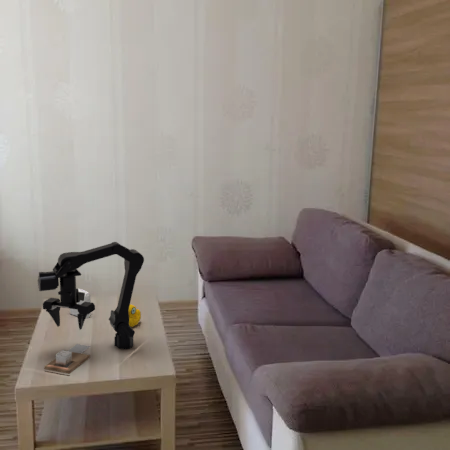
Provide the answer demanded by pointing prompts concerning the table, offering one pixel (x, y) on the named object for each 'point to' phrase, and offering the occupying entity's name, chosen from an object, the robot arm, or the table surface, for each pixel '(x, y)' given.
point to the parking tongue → (79, 348)
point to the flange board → (76, 362)
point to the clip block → (64, 359)
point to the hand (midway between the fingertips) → (69, 327)
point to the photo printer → (86, 299)
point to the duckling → (134, 315)
